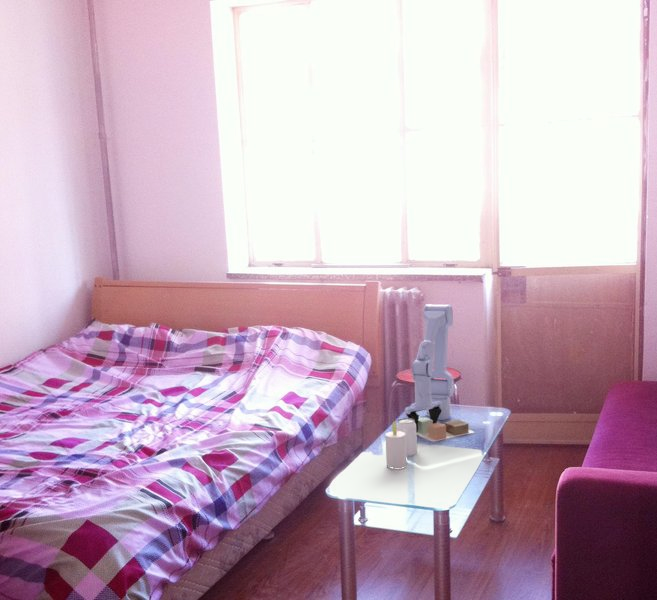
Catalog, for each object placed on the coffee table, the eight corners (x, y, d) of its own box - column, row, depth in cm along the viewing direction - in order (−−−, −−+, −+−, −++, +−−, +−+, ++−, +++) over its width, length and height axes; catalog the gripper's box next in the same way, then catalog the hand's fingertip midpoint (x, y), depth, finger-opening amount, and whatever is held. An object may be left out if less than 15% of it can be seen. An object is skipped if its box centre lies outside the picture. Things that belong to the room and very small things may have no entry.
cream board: (410, 434, 276) (410, 431, 276) (451, 425, 284) (451, 422, 284) (432, 444, 264) (432, 441, 263) (475, 434, 272) (475, 432, 271)
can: (395, 458, 252) (394, 423, 250) (399, 451, 258) (398, 417, 257) (415, 459, 250) (414, 423, 249) (418, 452, 256) (417, 417, 255)
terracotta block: (428, 436, 269) (428, 424, 268) (438, 434, 271) (438, 422, 270) (435, 440, 265) (435, 427, 264) (446, 437, 267) (445, 425, 266)
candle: (406, 462, 248) (405, 417, 246) (405, 469, 242) (404, 423, 240) (387, 462, 249) (385, 417, 247) (385, 469, 243) (384, 423, 241)
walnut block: (444, 431, 274) (444, 422, 274) (458, 428, 277) (458, 419, 276) (454, 435, 269) (454, 426, 268) (468, 432, 271) (468, 423, 271)
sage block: (415, 431, 276) (415, 419, 275) (426, 428, 278) (425, 417, 277) (422, 434, 272) (422, 422, 271) (433, 431, 274) (432, 420, 273)
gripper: (412, 398, 266) (413, 436, 268) (446, 392, 273) (447, 428, 275) (401, 394, 272) (402, 431, 274) (435, 387, 279) (436, 424, 281)
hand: (424, 429), depth 275 cm, fingers open, 7 cm apart
